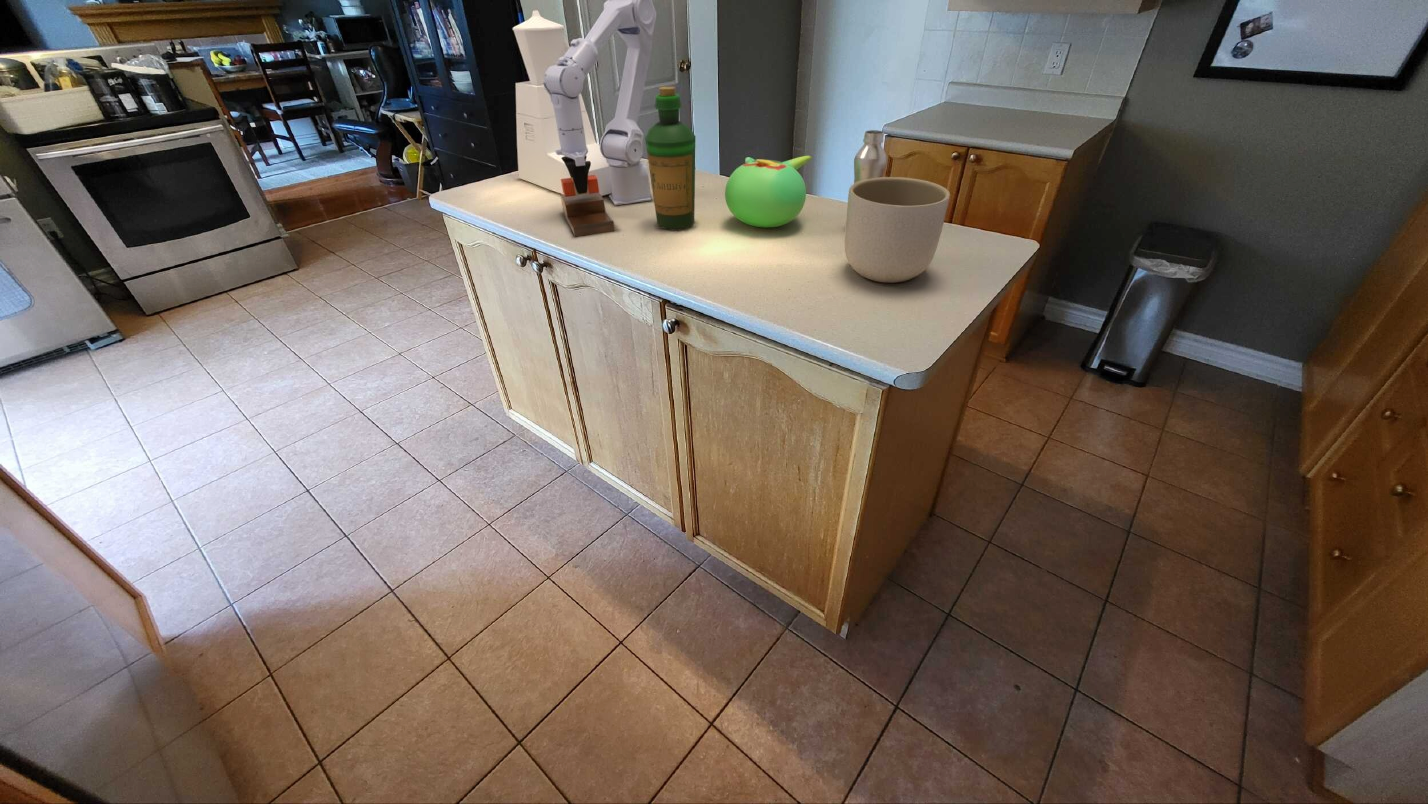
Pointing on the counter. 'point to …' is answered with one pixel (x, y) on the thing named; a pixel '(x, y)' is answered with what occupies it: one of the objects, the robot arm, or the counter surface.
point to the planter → (893, 227)
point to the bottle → (671, 164)
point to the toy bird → (766, 191)
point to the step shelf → (586, 214)
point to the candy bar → (571, 190)
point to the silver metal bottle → (870, 157)
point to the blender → (547, 111)
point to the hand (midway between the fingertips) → (580, 190)
